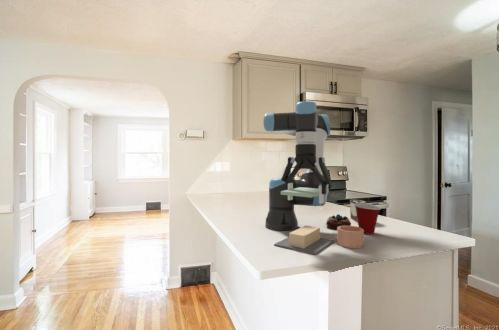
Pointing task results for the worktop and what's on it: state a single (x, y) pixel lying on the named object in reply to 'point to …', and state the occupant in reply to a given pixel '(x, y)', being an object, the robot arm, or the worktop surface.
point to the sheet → (302, 192)
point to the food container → (353, 209)
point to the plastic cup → (367, 217)
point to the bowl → (350, 236)
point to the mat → (308, 249)
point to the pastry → (337, 222)
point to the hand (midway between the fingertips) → (305, 201)
